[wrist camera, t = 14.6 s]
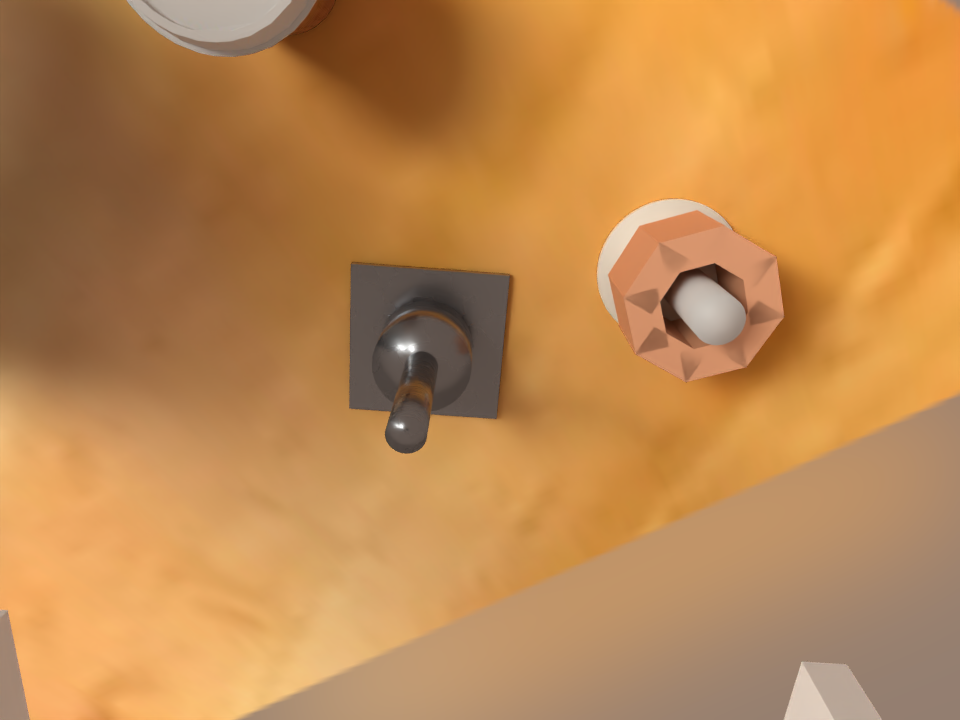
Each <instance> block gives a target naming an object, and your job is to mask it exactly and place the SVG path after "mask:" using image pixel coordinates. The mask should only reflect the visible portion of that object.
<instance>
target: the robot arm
mask: <svg viewBox="0 0 960 720" xmlns="http://www.w3.org/2000/svg"><path fill="white" fill-rule="evenodd" d="M0 720H30V718H29V714H28V709H27V704H26V699H25V694H24V689H23V684H22V679H21V674H20V669H19V664H18V659H17V654H16V649H15V644H14V640H13V635H12V630H11V625H10V620H9V615H8V610H0ZM784 720H882V719H881V717H880V716H879V714H878V713H877V711H876V709H875V708H874V706H873V705H872V703H871V702H870V700H869V698H868V697H867V696H866V694H865V692H864V691H863V689H862V687H861V686H860V684H859V683H858V681H857V679H856V678H855V677H854V675H853V673H852V672H851V670H850V668H849V667H848V665H847V664H834V663H818V662H801V666H800V669H799V672H798V676H797V679H796V682H795V685H794V688H793V692H792V695H791V698H790V702H789V705H788V708H787V711H786V715H785V718H784Z"/></svg>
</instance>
